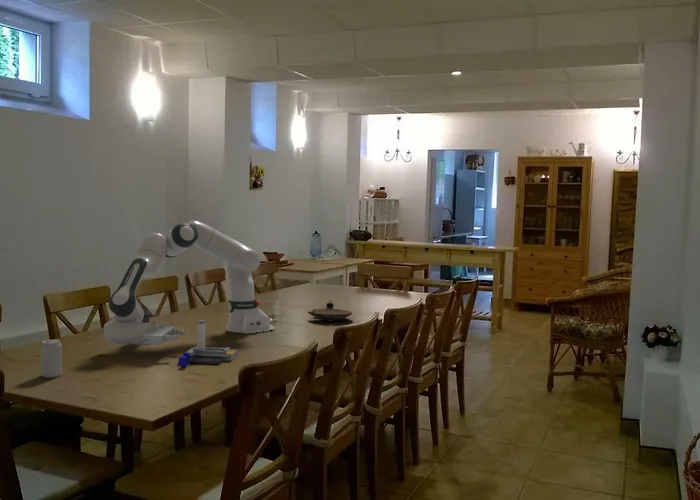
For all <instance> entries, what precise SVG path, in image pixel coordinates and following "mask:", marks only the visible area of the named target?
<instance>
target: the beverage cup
mask: <svg viewBox="0 0 700 500" xmlns="http://www.w3.org/2000/svg"><path fill="white" fill-rule="evenodd" d="M138 297H139V304H140V306H141V307H142V309H143V311H144V318H143V321H142V323H150V320H151V316H152V315H151V310H150V309H149V308H148V306H145V305H142V297H141V295H139V296H138Z"/></svg>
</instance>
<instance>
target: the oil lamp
mask: <svg viewBox="0 0 700 500" xmlns="http://www.w3.org/2000/svg"><path fill="white" fill-rule="evenodd" d="M307 313H308V314H309V315H310V316H312V317H314V318H316V319H318V320H320V321H327V320H337V321H340V320H344V319H346V318H347V317H350V316H351V315H352V314H353V312H352V311H350V310H343V309H337V308H334V303H333V301H332V300H331V299H329V300H328V302H327V303H326V308H314V309H312V310H311V311H307Z"/></svg>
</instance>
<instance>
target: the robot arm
mask: <svg viewBox="0 0 700 500" xmlns="http://www.w3.org/2000/svg"><path fill="white" fill-rule="evenodd" d="M141 242H142V243H141V244H140V246H139V248H138V251H137V253H136V255H135V258H134V260H133V261H131V263H130V264H129V266H128V269H127V270H126V271H125V272H126V273H125V274H124V276H123V278H122V280H121V282H120V284H119V286H118V287H117V288H116V290H115V291H114V292H113V293H112V294H111V295H110V297H109V299H108V309H109V310H110V311H111V313H113V314H114V316H113V317H112V319H110V320H109V321H107V322H106V323H105V324H104V325H103V329H102V330H103V332H102V333H103V338H104V339H105V341H106V342H107V343H109V344H114V345H121V346H122V345H125V346H126V345H134V346H146V347H147V346H151V345H154V346H158V345H162V344H163V343H165V342H171V341H173V342H175V341H177V340H178V336H184V335H185V334H186V330H183V329H179V328H178V329H177V326H176V325H174V324H167V323H158V322H157V321H149V323H142V321H143V318H144V311H143V309H142V307H141V306H142V305H141V306H140V302H139V300H137V296H136V291H137V289H138V287H139V285H140V282H141V280H142V278H143V277H144V278H145V277H148V278H149V277H151V278H152V277H154V276H156V275H158V274H159V272H161V269H162V267H163V264H164V261H165V259H166V258H169V259H171V258H172V259H173V258H175V257H178V256H179V255H181V254H183V253H184V252H186V251H187V249H189V248H190V247H191V246H192V247H196V248H197V249H199V250H201V251H202V252H204V253H206V254H208V255H209V256H212V257H214V258H216V259H218V260H220V261H222V262H224V263H226V264H227V272H228V278H229V299H228V320H227V324H226V328H225V331H227V332H230V333H239V334H246V335H247V334H249V333H250V334H256V332H257V333H263V331H264V332H269V331H270V330H272V331H275V330H274V329H275V326H274V325H273V324H271V321H270V320H271V319H270V318H269V316H268V315H267V314H266V313H265V312H264V311H263V310H261V309H260V308H259V306H261V305H262V302H261V301H260V300H256V299H255V281H254V279H253V275H252V271H255V270H257V269H258V268H259V267H260V265H261V257H260V254H259V253H258V252H257V251H256V250H255V249H253V248H252V247H249V246H248V245H246V244H244V243H242V242H240V241H238V240H236V239H234V238H232V237H229V235H228V236H227V235H226V234H225V233H222V232H221V231H219V230H217V229H215V228H213V227H212V226H210V225H207V224H206V223H203V222H200V221H197V220H190V221H188V222H187V223H185V222H183V223H179V224H176V225H175V226H173V227H172V228H171V229H168V230H167V231H166V232H165V234H162V233H159V232H150V233H148V234H147V235H146V236H145V238H144V239H143V241H141Z"/></svg>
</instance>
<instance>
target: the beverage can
mask: <svg viewBox="0 0 700 500" xmlns="http://www.w3.org/2000/svg"><path fill="white" fill-rule="evenodd" d="M41 343H42V344H41V345H40V375H41V376H42V377H43V378H47V379H51V378H52V379H53V378H57V377H60V375H61V374H62V373H63V371H62V368H63V365H62V361H63V359H62V357H63V356H62V355H63V353H62V352H63V351H62V350H63V349H62V348H63V347H62V343H61V340H60V339H46V340H42V341H41Z"/></svg>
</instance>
